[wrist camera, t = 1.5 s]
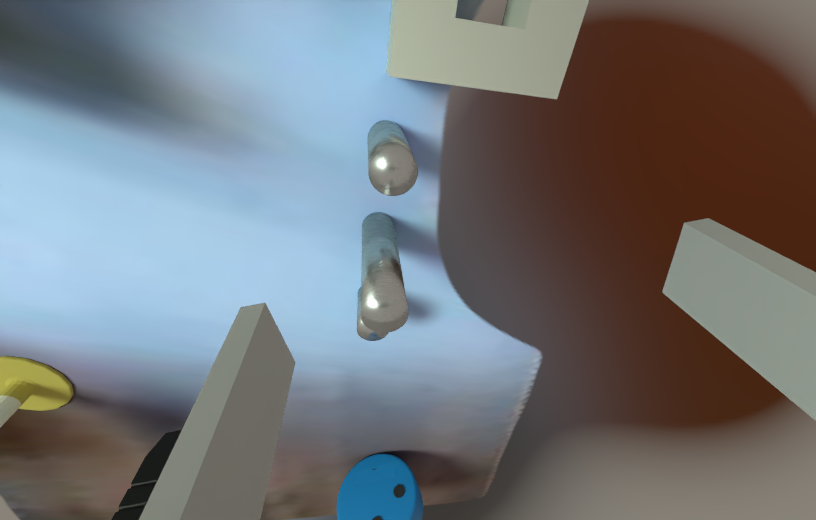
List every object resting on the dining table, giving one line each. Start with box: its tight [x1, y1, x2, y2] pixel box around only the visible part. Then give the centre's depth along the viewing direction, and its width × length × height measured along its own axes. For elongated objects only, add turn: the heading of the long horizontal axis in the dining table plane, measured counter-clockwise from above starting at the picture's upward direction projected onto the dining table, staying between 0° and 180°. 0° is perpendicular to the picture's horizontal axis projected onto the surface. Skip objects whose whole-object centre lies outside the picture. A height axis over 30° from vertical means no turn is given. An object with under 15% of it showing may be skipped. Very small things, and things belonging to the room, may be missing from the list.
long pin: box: [361, 212, 408, 333], centre depth 30 cm, size 3×3×14 cm
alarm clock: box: [337, 454, 423, 520], centre depth 55 cm, size 13×6×15 cm, turn 102°
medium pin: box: [368, 120, 418, 196], centre depth 27 cm, size 3×3×10 cm
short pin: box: [357, 287, 388, 341], centre depth 38 cm, size 3×3×6 cm
